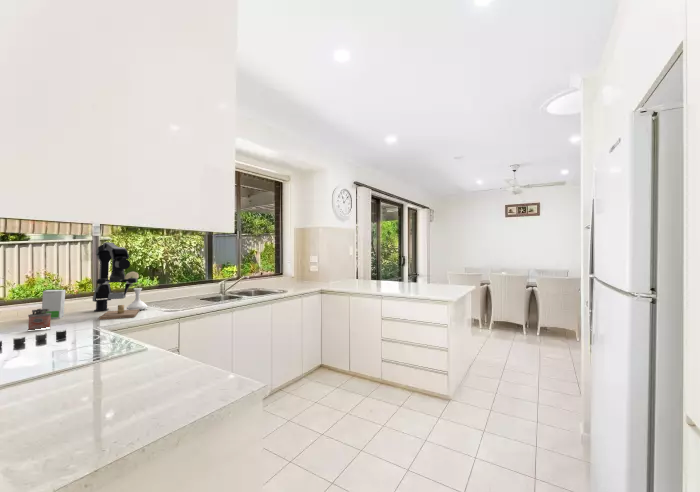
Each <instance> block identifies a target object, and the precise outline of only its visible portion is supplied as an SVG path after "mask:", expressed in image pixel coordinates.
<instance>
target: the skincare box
mask: <svg viewBox="0 0 700 492" xmlns="http://www.w3.org/2000/svg"><path fill="white" fill-rule="evenodd" d="M65 299H66V289H46V290H43V291H42V301H41V302H42V303H41V309H50V310H49V311H48V312H46V313H51V320H58V319H62V318H64V316H65V314H64V313H65V301H66V300H65Z"/></svg>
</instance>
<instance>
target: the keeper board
mask: <svg viewBox="0 0 700 492" xmlns="http://www.w3.org/2000/svg"><path fill="white" fill-rule="evenodd" d="M139 313H140V310H139V309H138V310H129V309H126V310H125V304H118V305H117V310H107V311H105V313H103V314H102V315H100V316H99V319H98V320H99V321H101V320H114V319H115V320H116V319H117V320H119V319H130V318H132V319H133V318H135V317H136V316H137V315H139Z"/></svg>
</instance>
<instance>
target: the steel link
mask: <svg viewBox="0 0 700 492" xmlns="http://www.w3.org/2000/svg"><path fill="white" fill-rule="evenodd" d="M126 295H127V294H126ZM126 295H124V292H123V291H122V292H120V291H119V292H112V293H110V294H108V299H111V300H123V299H126Z"/></svg>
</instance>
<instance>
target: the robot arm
mask: <svg viewBox="0 0 700 492" xmlns="http://www.w3.org/2000/svg"><path fill="white" fill-rule="evenodd" d="M95 255H96V259H97V260H98V262H99V273H98V274H99V275H98V276H99V277H98V278H97V279H96V285H98V286H96V288H95V291H94V292H93V295H92V302H95V309H94V310H93V312H107V311H109V308H108V301H112V299H108V294H110V293H113V291H112V288H111V283H124V284H125V285H124V295H127V292H128V290H129V288H130V287H129V286H130V285H131V284H133V283H134V284H136V283H138V279H137V278H128V279H125V276H126V274H125V270H127V269H129V268H130V266H131V261H130V260H129V258H130V255H129V252H128V249H126V248H125V247H119V246H118V245H116V244H115V243H114V242H106V241H105V242H103V243H102V244H101V245H99V246H98V247H97V248H96V250H95ZM110 261H112V262H111V274H110V276H109V264H110Z"/></svg>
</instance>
